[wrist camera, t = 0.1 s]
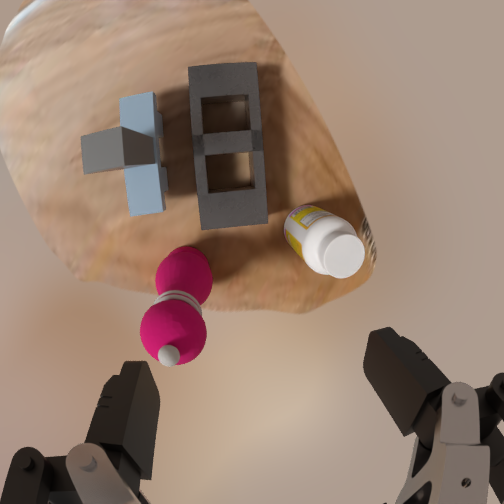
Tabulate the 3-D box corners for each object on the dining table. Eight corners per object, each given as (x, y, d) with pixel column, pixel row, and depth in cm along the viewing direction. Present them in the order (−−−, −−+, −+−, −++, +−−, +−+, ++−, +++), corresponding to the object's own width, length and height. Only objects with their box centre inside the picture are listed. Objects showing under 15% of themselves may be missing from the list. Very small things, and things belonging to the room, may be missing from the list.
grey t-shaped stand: (132, 106, 30) (77, 73, 15) (161, 101, 31) (123, 59, 15) (141, 208, 35) (92, 244, 19) (170, 204, 35) (138, 238, 20)
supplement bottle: (315, 255, 40) (354, 295, 28) (275, 240, 39) (302, 277, 27) (334, 214, 39) (382, 238, 26) (294, 196, 37) (332, 214, 25)
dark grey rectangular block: (190, 76, 30) (188, 66, 26) (251, 71, 31) (256, 62, 27) (202, 223, 37) (201, 230, 33) (262, 216, 37) (268, 223, 34)
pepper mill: (202, 235, 37) (192, 312, 18) (219, 282, 40) (227, 383, 21) (154, 252, 37) (106, 336, 18) (173, 296, 39) (149, 399, 20)
